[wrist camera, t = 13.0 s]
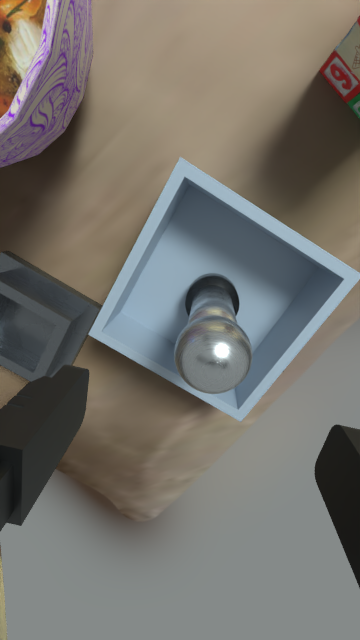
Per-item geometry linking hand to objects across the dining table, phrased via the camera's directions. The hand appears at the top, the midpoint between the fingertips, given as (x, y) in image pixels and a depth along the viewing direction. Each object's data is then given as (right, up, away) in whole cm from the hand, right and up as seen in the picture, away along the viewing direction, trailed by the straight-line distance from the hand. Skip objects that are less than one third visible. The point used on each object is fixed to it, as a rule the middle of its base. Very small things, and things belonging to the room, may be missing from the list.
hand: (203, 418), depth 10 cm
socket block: (-15, +3, +20) cm, 25 cm away
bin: (+2, +6, +17) cm, 18 cm away
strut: (+2, +5, +17) cm, 17 cm away
